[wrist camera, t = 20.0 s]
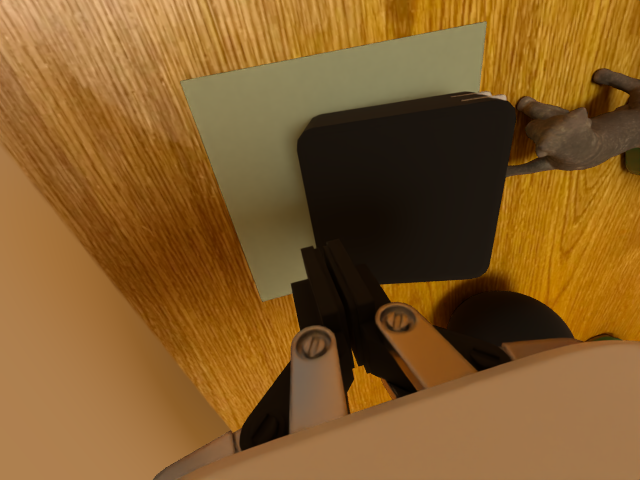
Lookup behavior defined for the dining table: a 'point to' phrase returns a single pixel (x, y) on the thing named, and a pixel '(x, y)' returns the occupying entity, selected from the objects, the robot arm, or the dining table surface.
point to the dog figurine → (581, 130)
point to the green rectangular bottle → (633, 160)
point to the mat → (293, 117)
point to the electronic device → (410, 183)
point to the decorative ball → (507, 319)
